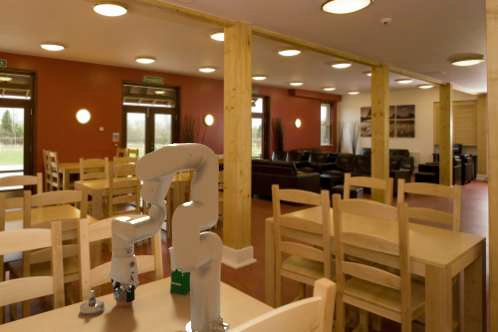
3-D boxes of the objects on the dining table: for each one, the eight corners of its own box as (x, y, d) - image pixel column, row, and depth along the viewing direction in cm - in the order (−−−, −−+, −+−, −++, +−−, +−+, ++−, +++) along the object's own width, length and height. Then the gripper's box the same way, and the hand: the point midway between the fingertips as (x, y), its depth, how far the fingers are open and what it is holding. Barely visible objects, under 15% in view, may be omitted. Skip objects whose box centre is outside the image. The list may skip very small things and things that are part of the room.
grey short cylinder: (137, 295, 137) (136, 287, 137) (122, 302, 132) (122, 294, 131) (125, 291, 140) (125, 284, 140) (111, 297, 135) (110, 290, 135)
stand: (135, 303, 137) (135, 285, 136) (123, 309, 132) (122, 290, 132) (125, 300, 140) (125, 282, 140) (113, 305, 135) (112, 287, 135)
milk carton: (198, 288, 151) (197, 240, 149) (184, 297, 143) (183, 246, 141) (180, 284, 155) (180, 237, 153) (166, 292, 147) (165, 243, 145)
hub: (109, 308, 133) (108, 289, 133) (89, 317, 126) (88, 297, 126) (95, 303, 138) (95, 284, 137) (75, 311, 131) (74, 292, 130)
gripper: (147, 252, 133) (148, 301, 134) (116, 244, 142) (117, 289, 144) (130, 258, 127) (131, 309, 128) (99, 249, 136) (100, 297, 138)
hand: (124, 298), depth 136 cm, fingers closed on grey short cylinder, 6 cm apart
